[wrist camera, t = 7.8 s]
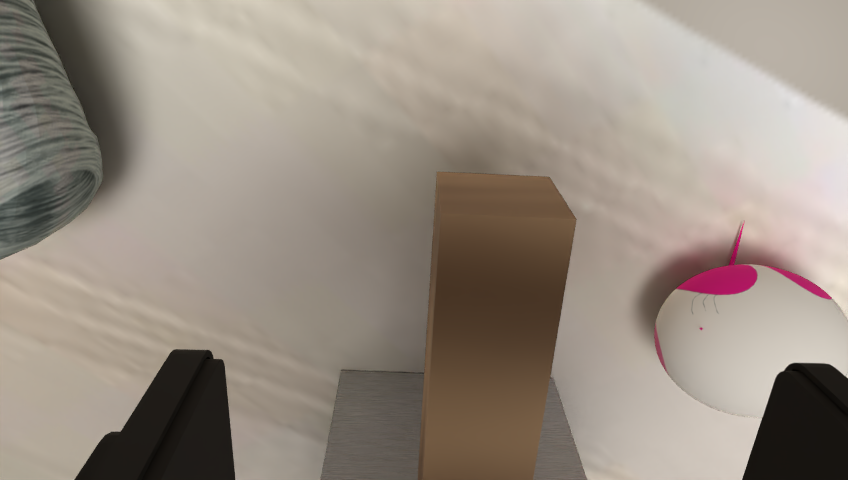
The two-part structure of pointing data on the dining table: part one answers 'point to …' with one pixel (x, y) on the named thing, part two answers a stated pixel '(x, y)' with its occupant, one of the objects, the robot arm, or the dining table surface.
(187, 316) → the dining table surface
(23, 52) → the spool
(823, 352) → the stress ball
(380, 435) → the block
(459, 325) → the shaft
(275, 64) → the dining table surface
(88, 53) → the dining table surface
